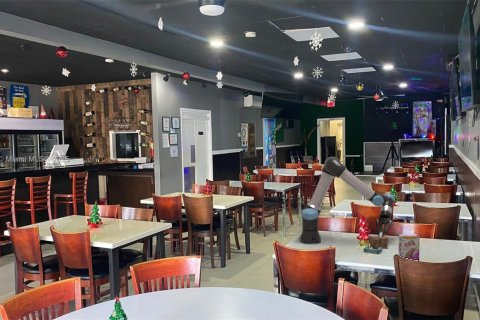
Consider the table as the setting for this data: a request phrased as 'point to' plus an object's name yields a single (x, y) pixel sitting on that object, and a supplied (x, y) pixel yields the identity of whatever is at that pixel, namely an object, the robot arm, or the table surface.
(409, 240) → the candy bar box
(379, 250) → the teal T socket
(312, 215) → the robot arm
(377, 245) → the walnut T block
